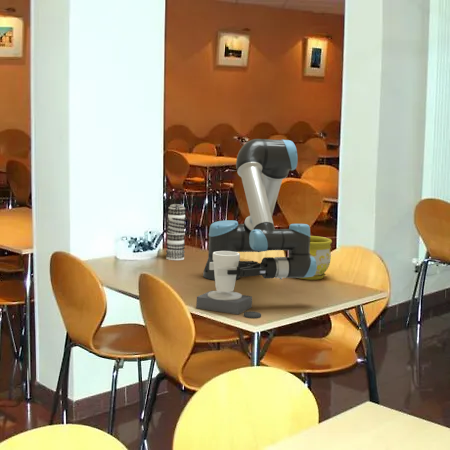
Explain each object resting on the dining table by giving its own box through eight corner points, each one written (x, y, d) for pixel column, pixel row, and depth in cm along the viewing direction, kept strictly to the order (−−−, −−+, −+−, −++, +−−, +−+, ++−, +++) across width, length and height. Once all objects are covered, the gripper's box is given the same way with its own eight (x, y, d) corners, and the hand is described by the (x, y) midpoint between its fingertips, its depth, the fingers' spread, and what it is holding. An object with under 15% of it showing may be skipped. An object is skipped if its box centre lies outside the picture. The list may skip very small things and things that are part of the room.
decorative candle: (189, 258, 380) (191, 204, 376) (177, 261, 372) (179, 206, 368) (172, 255, 384) (174, 202, 380) (161, 258, 376) (162, 204, 373)
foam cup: (235, 293, 284) (236, 256, 283) (209, 291, 286) (210, 254, 284) (240, 287, 294) (241, 252, 292) (214, 285, 295) (216, 250, 294)
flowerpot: (278, 275, 349) (280, 237, 347) (303, 270, 362) (306, 234, 360) (313, 283, 337) (315, 244, 335) (337, 277, 351) (340, 239, 348)
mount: (196, 307, 289) (196, 294, 288) (211, 301, 300) (211, 288, 299) (237, 314, 282) (238, 300, 282) (251, 307, 293) (252, 294, 292)
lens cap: (240, 317, 280) (240, 314, 280) (248, 313, 285) (248, 310, 285) (256, 320, 277) (256, 316, 277) (263, 316, 282) (264, 313, 282)
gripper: (284, 284, 284) (222, 286, 278) (263, 271, 305) (204, 272, 299) (285, 263, 283) (223, 264, 277) (264, 251, 304) (205, 252, 298)
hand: (213, 268), depth 288 cm, fingers closed on foam cup, 9 cm apart
